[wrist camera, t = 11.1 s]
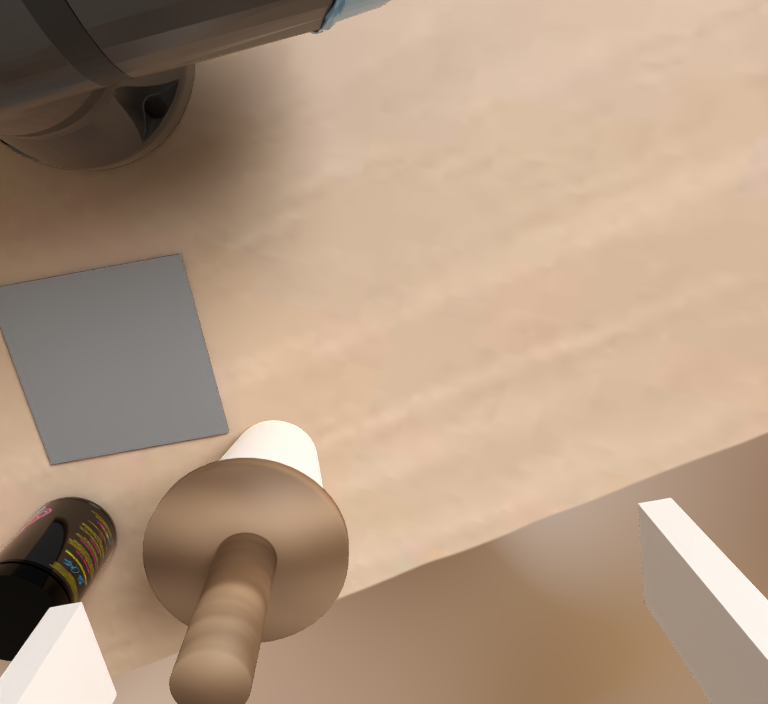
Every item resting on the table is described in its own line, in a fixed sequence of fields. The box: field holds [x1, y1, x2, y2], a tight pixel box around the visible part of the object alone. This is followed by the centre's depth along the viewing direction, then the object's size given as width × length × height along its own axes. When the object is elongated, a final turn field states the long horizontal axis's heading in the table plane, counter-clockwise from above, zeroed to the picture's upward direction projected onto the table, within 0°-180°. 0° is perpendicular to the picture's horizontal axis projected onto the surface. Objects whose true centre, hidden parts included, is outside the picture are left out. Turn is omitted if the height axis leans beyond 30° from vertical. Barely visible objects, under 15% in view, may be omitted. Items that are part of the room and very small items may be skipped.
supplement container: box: [0, 497, 117, 661], centre depth 45 cm, size 7×7×10 cm
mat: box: [0, 253, 229, 465], centre depth 46 cm, size 14×14×1 cm
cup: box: [219, 420, 323, 488], centre depth 43 cm, size 9×9×12 cm
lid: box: [143, 458, 349, 704], centre depth 33 cm, size 12×12×10 cm
